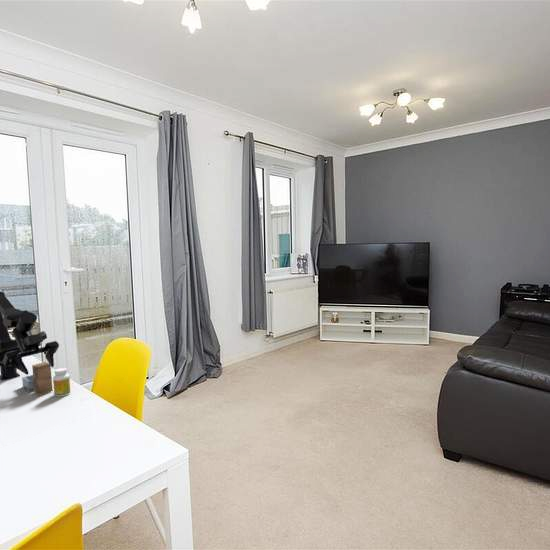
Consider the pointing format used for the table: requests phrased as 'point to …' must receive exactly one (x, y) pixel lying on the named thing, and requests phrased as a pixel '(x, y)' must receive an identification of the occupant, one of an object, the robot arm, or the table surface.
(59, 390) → the supplement bottle
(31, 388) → the bin
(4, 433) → the table surface
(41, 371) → the walnut block
